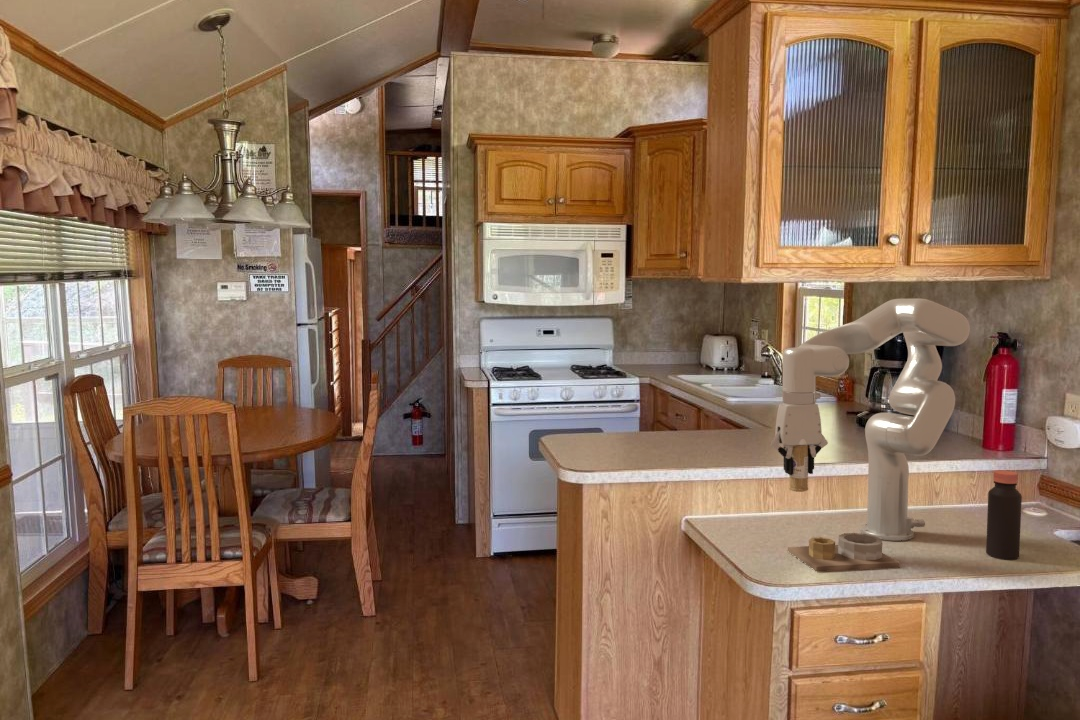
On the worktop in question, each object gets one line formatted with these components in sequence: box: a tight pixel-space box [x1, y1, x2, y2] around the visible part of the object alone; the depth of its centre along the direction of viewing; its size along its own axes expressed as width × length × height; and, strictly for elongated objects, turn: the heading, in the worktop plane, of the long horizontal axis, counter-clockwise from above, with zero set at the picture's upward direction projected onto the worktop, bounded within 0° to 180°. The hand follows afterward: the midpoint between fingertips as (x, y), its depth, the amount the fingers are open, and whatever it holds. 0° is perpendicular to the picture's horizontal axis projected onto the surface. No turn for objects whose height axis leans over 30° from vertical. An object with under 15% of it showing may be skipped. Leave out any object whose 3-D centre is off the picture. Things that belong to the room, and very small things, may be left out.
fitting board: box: [787, 532, 900, 572], centre depth 179 cm, size 20×14×5 cm
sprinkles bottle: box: [788, 439, 809, 493], centre depth 186 cm, size 5×5×13 cm
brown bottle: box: [985, 469, 1023, 561], centre depth 181 cm, size 7×7×20 cm
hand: (798, 472), depth 187 cm, fingers closed on sprinkles bottle, 4 cm apart
